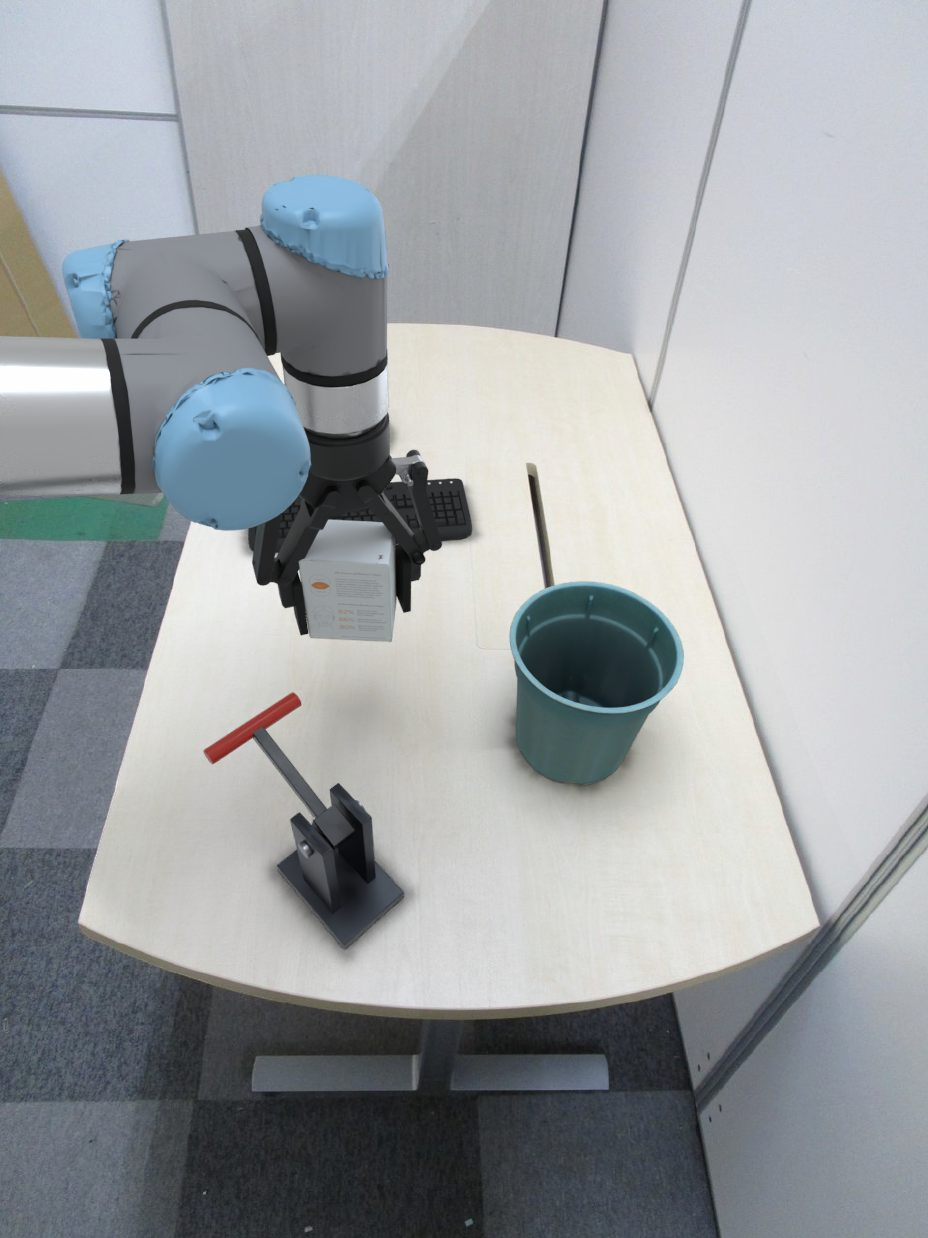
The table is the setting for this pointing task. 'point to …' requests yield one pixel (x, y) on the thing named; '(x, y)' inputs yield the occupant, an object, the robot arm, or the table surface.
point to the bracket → (340, 873)
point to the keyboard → (402, 511)
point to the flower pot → (588, 676)
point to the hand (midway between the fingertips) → (353, 613)
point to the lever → (285, 768)
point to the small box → (350, 582)
